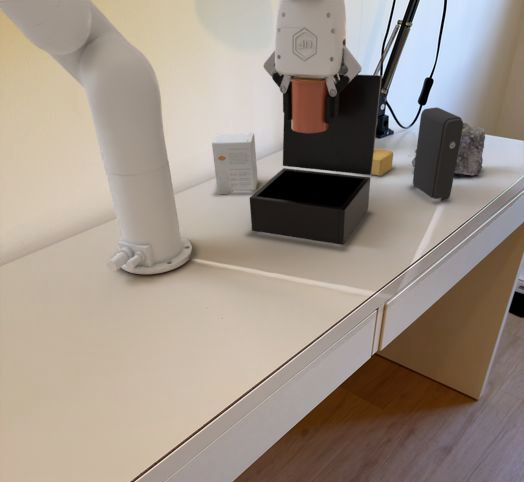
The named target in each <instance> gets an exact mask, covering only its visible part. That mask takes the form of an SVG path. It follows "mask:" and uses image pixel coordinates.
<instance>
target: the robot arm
mask: <svg viewBox="0 0 524 482" xmlns="http://www.w3.org/2000/svg"><path fill="white" fill-rule="evenodd" d="M0 11H1V12H2V13H3V14H4V15H5V16H6V17H7V18H8V19H9V20H10V21H11V22H12V23H13V24H14V25H15V27H16V28H17V29H18V30H19V31H20V32H21V33H22V35H23V36H24V37H25V38H26V39H27V40H28V41H29V42H30V43H31V44H33V45H34V46H35V47H37V48H38V49H39V50H42V51H44V52H46V53H47V54H48V55H49V56H50V57H51V58H52V59H54V60H55V62H56V63H58V64H59V65H60V66H61V68H63V69H64V70H65V71H66V72H67V73H68V74H69V75H70V76H71V77H72V78H73V79H74V80H75V81H76V82H78V84H80V86H81V87H83V88H84V91H85V93H86V98H87V100H88V105H89V108H90V112H91V115H92V120H93V125H94V129H95V134H96V139H97V142H98V147H99V151H100V155H101V160H102V164H103V168H104V171H105V175H106V180H107V182H108V183H107V184H108V188H109V191H110V196H111V201H112V204H113V208H114V212H115V216H116V221H117V225H118V230H119V234H120V238H121V240H119V241H118V247H119V249H118V250H117V253H116V254H115V255H114V256H113V257H111V258H109V260H107V261H106V266H107V268H108V269H109V270H110V271H111V272H117V271H119V270H120V268H121V269H122V270H124V271H125V272H128V273H131V274H135V275H156V274H157V275H158V274H163V273H166V272H169V271H172V270H175V269H177V268H179V267H181V266H183V265H184V264H186V263H187V262H188V261H189V260H190V259H191V256H190V255H191V253H192V251H193V245H192V243H191V242H190V241H189V239H188V238H186V237H184V236H182V235H181V229H180V222H179V217H178V211H177V205H176V198H175V192H174V187H173V180H172V174H171V167H170V161H169V158H168V151H167V145H166V138H165V130H164V122H163V120H164V119H163V109H162V97H161V90H160V86H159V85H160V84H159V81H158V78H157V74H156V71H155V70H154V67H153V66H152V64H151V63H150V61H149V59H148V58H147V57H146V55H145V54H144V53H143V52H142V51H141V50H139V49H138V48H137V47H136V46H135V45H133V44H132V43H131V42H130V41H129V40H127V38H126V37H125V35H123V34H122V33H121V32H120V31H119V30H118V28H116V26H115V25H114V24H113V23H112V22H111V21H110V19H109V18H108V17H107V16H106V15H105V14H104V13H103V12H102V10H100V9H99V7H98V6H97V5H96V4H95V3H94V2H93V1H92V0H0ZM346 14H347V13H346V4H345V0H279V3H278V9H277V18H276V25H275V27H276V28H275V40H274V41H275V42H274V43H275V44H274V50H273V52H272V53H271V54H270V56H269V57H268V58H267V59H266V60H265V62H264V63H263V69H264V70H265V71H266V72H267V74H268V75H269V76H270V77H271V79H272V80H273V82H274V83H275V85H276V86H277V87H278V89H279V91H280V93H281V94H282V112H283V114H284V113H285V120H290V119H292V109H291V81H290V78H292V77H293V76H307V77H324V78H325V80H327V82H326V84H327V88H328V91H329V92H328V96H327V97H326V100H325V123H326V124H330V123H331V122H332V121H334V120H335V117H337V115H338V106H339V93H340V92H341V91H342V90H343V89H344V88H345V87H346V86H347V85H348V84H349V83H350V82H351V80H352V79H354V78H355V77H356V76H357V75H360V73H361V72H362V66H361V64H360V63H359V62H358V60H357V59H356V58H355V56H354V55H353V53H351V51H350V50H349V48H348V34H347V33H348V31H347V15H346ZM345 65H346V66H347V68H348V72H347V73H346V74H345V75H344V76H343V77H342V78H341V79H340V78H339V75H338V72H339V71H341V70H343V69H344V68H345Z"/></svg>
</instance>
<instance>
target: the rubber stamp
mask: <svg viewBox="0 0 524 482" xmlns="http://www.w3.org/2000/svg"><path fill="white" fill-rule="evenodd" d="M378 117H379V116H378ZM378 117H377V124H378V123H379V118H378ZM377 126H378V125H377ZM377 126H376V128H377ZM393 159H394V151H392V150H387V149H383V148H375V147H374V154H373V163H372V172H371V175H373V176H376V177H377V176H378V177H382V176H383V175H385V174H386V173H387V172H389V171H390V170H392V169H393Z"/></svg>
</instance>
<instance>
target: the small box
mask: <svg viewBox="0 0 524 482" xmlns="http://www.w3.org/2000/svg"><path fill="white" fill-rule="evenodd" d="M211 148H212V158H213V164H214V174H215V181H216V189H217V194H218V195H231V194H232V193H233V192H234V191H255V190H256V188H257V186H258V183H259V182H258V180H259V179H258V167H257V166H258V165H257V152H256V138H255V133H254V132H249V133H225V134H223V133H221V134H216V135H215V137H214V139H213V141H212V143H211Z"/></svg>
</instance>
